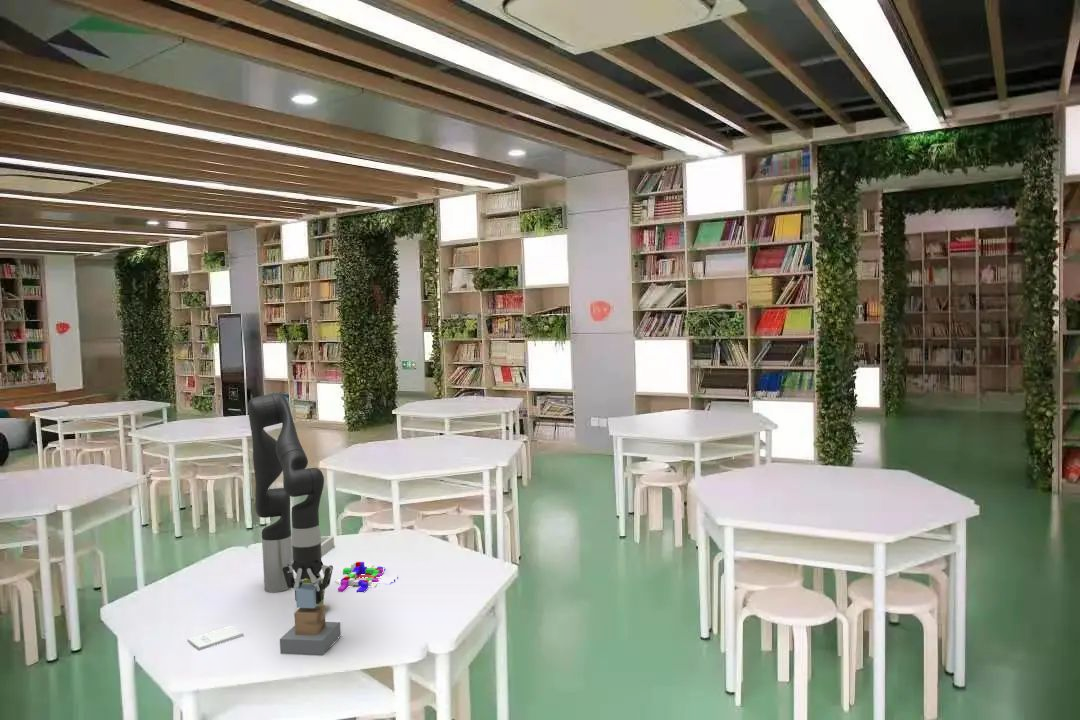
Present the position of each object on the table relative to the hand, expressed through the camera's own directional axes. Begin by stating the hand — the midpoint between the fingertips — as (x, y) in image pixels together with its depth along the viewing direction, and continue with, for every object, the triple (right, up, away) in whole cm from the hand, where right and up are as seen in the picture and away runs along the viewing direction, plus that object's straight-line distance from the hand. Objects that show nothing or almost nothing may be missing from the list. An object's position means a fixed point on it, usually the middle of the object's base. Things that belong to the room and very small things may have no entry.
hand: (309, 602), depth 211 cm
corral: (-27, -7, +81) cm, 86 cm away
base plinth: (0, -12, +1) cm, 12 cm away
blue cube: (0, -1, 0) cm, 1 cm away
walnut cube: (0, -8, +1) cm, 8 cm away
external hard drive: (-28, -13, +6) cm, 32 cm away
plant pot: (-6, -11, +25) cm, 28 cm away
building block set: (+4, -9, +52) cm, 53 cm away
